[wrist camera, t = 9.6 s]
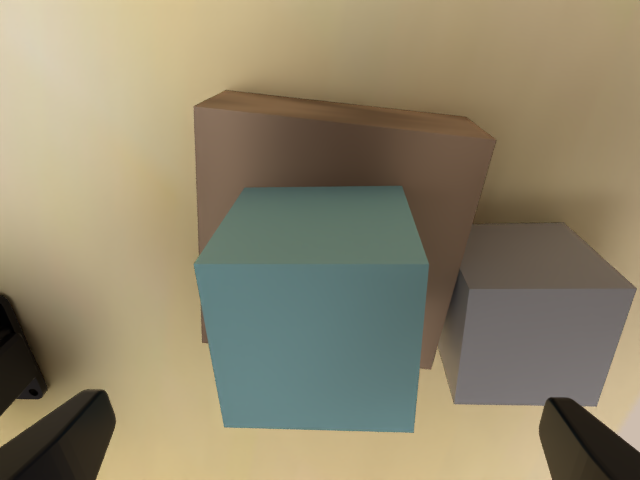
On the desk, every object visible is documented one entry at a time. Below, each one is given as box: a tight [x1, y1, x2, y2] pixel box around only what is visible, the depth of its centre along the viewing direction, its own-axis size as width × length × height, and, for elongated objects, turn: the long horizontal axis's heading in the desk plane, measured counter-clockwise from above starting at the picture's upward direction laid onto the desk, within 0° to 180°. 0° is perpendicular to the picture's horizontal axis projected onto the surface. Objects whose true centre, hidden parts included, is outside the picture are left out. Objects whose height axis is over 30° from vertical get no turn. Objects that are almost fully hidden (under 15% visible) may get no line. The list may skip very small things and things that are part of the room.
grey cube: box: [438, 223, 637, 406], centre depth 16 cm, size 5×5×5 cm
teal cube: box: [194, 186, 429, 433], centre depth 12 cm, size 5×5×5 cm
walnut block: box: [194, 90, 496, 369], centre depth 16 cm, size 9×9×4 cm
